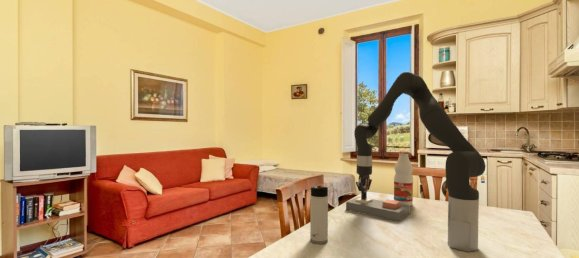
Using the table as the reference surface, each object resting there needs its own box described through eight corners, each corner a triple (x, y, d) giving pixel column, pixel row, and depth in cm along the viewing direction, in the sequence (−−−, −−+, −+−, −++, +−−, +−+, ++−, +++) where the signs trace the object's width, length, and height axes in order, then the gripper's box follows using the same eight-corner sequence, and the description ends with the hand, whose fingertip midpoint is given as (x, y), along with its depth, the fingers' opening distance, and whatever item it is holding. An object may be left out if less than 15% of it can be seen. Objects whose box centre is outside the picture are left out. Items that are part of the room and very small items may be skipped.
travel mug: (314, 245, 105) (314, 188, 104) (307, 238, 111) (308, 184, 111) (330, 243, 106) (331, 187, 106) (323, 236, 113) (324, 183, 112)
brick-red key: (395, 212, 136) (395, 204, 136) (382, 210, 140) (382, 201, 140) (400, 210, 141) (400, 201, 141) (387, 207, 145) (387, 199, 144)
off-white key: (366, 209, 145) (366, 201, 145) (355, 207, 149) (355, 199, 149) (372, 207, 150) (372, 199, 150) (361, 204, 154) (361, 197, 154)
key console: (398, 221, 131) (398, 212, 131) (346, 209, 148) (346, 201, 148) (409, 214, 142) (409, 205, 142) (359, 204, 159) (359, 196, 159)
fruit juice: (415, 203, 160) (416, 151, 160) (408, 207, 153) (409, 152, 152) (397, 200, 166) (398, 150, 166) (390, 204, 159) (391, 151, 159)
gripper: (365, 166, 142) (364, 203, 142) (377, 163, 152) (376, 198, 152) (350, 165, 147) (350, 200, 147) (363, 162, 157) (363, 195, 157)
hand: (363, 199), depth 150 cm, fingers closed
